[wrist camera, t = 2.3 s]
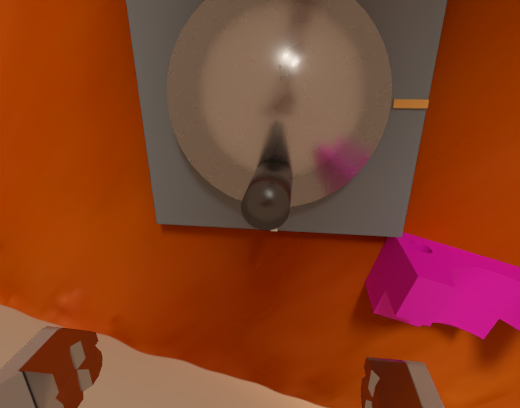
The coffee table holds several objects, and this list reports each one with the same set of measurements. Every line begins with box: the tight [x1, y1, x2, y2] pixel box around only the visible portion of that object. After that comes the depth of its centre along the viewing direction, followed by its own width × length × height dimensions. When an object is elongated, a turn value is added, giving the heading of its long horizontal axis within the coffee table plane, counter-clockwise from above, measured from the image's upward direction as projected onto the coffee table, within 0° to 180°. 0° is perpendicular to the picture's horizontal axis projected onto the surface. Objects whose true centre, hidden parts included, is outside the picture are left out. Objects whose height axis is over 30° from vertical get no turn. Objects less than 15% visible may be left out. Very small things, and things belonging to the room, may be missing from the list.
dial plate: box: [126, 0, 447, 237], centre depth 25 cm, size 22×22×2 cm
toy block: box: [365, 232, 520, 339], centre depth 27 cm, size 15×6×8 cm, turn 75°
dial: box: [166, 0, 392, 230], centre depth 21 cm, size 16×16×8 cm
